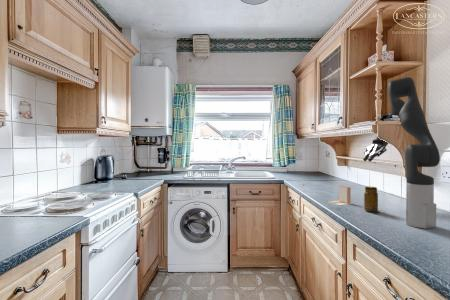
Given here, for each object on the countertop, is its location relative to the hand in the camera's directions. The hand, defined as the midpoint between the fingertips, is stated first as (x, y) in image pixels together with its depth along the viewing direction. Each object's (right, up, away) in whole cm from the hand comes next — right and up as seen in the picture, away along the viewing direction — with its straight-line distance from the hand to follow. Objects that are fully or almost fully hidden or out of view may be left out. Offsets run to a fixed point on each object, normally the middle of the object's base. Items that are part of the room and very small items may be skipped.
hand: (366, 160), depth 155 cm
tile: (-12, -24, +1) cm, 27 cm away
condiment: (-7, -25, -19) cm, 32 cm away
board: (-15, -24, 0) cm, 29 cm away
